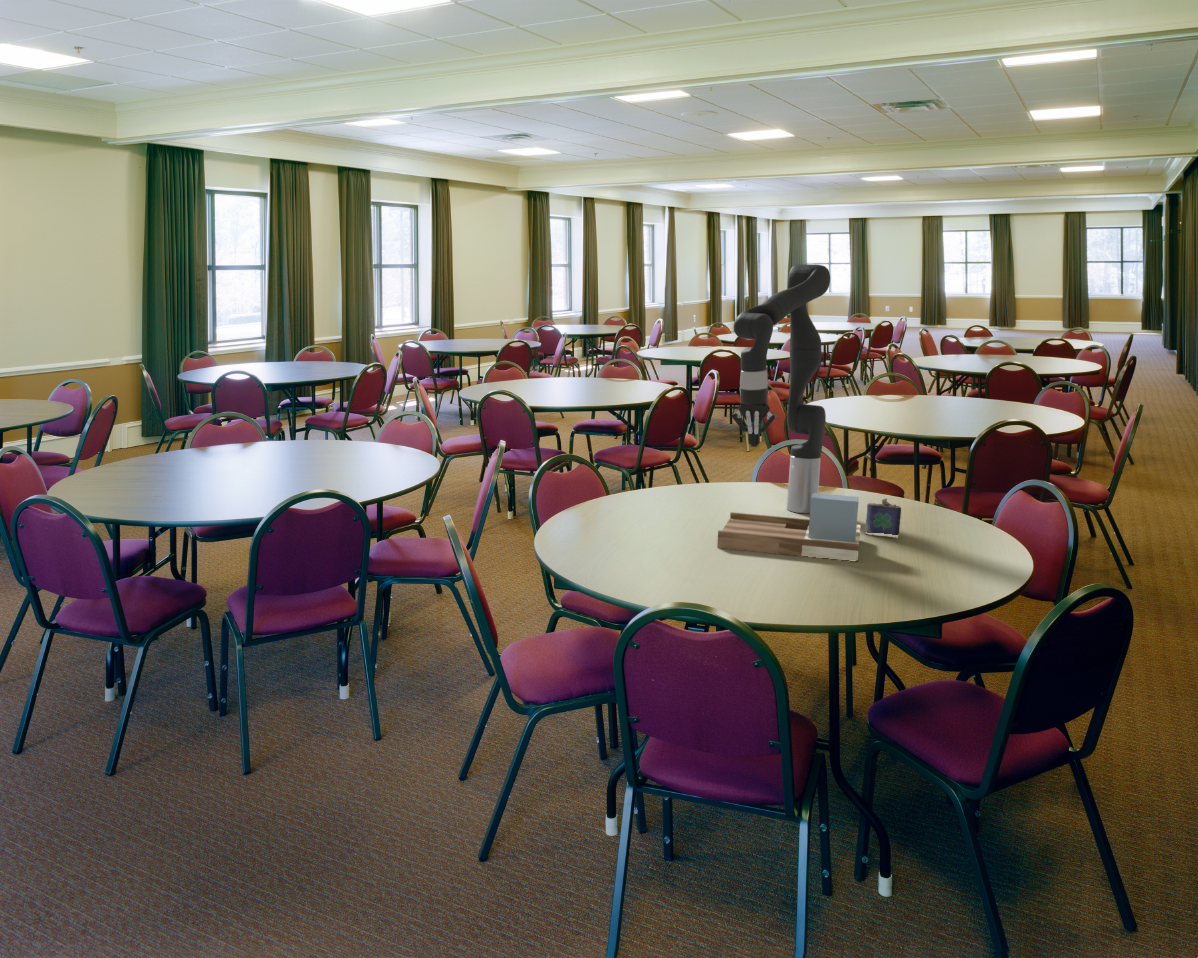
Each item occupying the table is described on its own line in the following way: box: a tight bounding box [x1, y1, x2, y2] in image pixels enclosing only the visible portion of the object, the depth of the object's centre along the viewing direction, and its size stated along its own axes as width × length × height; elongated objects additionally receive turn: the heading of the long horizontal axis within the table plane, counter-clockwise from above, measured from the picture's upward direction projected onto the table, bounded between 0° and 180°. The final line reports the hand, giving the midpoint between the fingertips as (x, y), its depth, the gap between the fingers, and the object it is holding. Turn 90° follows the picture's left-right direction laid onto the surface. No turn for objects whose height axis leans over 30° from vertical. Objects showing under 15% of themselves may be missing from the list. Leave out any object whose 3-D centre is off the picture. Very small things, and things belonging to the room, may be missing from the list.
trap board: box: [716, 511, 861, 560], centre depth 241 cm, size 22×36×4 cm, turn 73°
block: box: [808, 492, 860, 542], centre depth 237 cm, size 6×12×11 cm, turn 73°
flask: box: [864, 498, 902, 535], centre depth 251 cm, size 9×3×11 cm, turn 65°
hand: (754, 446), depth 251 cm, fingers closed
